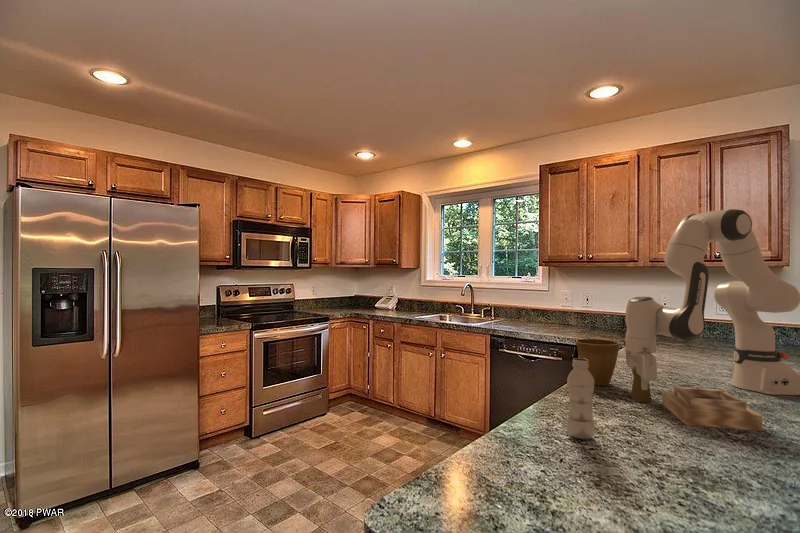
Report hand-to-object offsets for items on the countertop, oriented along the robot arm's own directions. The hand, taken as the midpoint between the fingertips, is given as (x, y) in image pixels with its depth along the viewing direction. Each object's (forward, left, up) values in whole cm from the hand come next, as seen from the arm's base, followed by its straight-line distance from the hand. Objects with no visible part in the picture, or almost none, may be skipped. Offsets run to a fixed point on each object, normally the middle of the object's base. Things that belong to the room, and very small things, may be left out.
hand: (640, 386), depth 137 cm
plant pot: (+10, -17, -4) cm, 21 cm away
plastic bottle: (+25, +39, -4) cm, 47 cm away
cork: (0, 0, -4) cm, 4 cm away
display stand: (-14, +13, -4) cm, 20 cm away
